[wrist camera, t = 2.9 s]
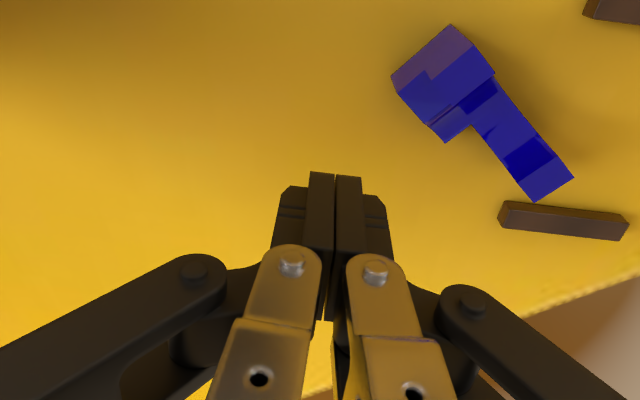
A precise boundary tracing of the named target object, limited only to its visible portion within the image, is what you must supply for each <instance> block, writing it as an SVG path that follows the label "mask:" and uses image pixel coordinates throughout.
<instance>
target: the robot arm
mask: <svg viewBox="0 0 640 400" xmlns="http://www.w3.org/2000/svg"><path fill="white" fill-rule="evenodd" d="M334 181H335V183H334ZM323 307H324V321H331V322H333V336H332V341H331V346H330V353H331V366H332V380H333V394H334V400H505V399H504V398H503V397H502V396H501V395H500V394H499V393H498V392H497V391H496V390H495V389H494V388H492V387H491V386H490V385H489V384H488V383H487V382H486V381H485V380H484V379H483V378H481V377H480V376H479V375H478V372H479V370H480V368H481V369H482V370H483V371H484V372H485V373H487V374H488V375H489V376H490V377H491V378H492V379H493V380H494V381H495V382H497V383H498V384H499V385H500V386H501V387H502V388H503V389H504V390H505V391H506V392H508V393H509V394H510V395H511V396H512V397H513V398H514V399H515V400H627V399H626V398H624V397H623V396H622V395H620V394H619V393H618V392H616V391H615V390H614V389H612V388H611V387H610V386H608V385H607V384H606V383H604V382H603V381H602V380H601V379H599V378H598V377H597V376H595V375H594V374H593V373H591V372H590V371H589V370H588V369H586V368H585V367H584V366H582V365H581V364H579V363H578V362H577V361H575V360H574V359H573V358H572V357H570V356H569V355H568V354H567V353H565V352H564V351H562V350H561V349H560V348H558V347H557V346H556V345H555V344H553V343H552V342H551V341H550V340H548V339H547V338H546V337H544V336H543V335H541V334H540V333H539V332H538V331H536V330H535V329H534V328H532V327H531V326H530V325H529V324H527V323H526V322H524V321H523V320H522V319H521V318H519V317H518V316H517V315H515V314H514V313H513V312H511V311H510V310H509V309H508V308H506V307H505V306H504V305H502V304H501V303H500V302H498V301H497V300H496V299H494V298H493V297H492V296H490V295H489V294H488V293H486V292H484V291H483V290H481V289H478V288H476V287H473V286H469V285H463V284H456V285H451V286H448V287H446V288H445V289H444V290H443V291H442V292H441V295H438V294H436V293H433V292H430V291H427V290H424V289H422V288H419V287H417V286H415V285H413V284H411V283H410V282H408V281H407V280H406V277H405V274H404V271H403V270H402V268H401V267H400V266H399V265H398V264H397V263H396V262H395V261H394V256H393V250H392V244H391V237H390V231H389V225H388V220H387V213H386V207H385V205H384V204H383V203H382V202H381V200H380V199H379V198H378V197H377V196H375V195H366V194H363V193H362V182H361V177H355V176H347V175H339V174H336V177H335V175H334V174H330V173H322V172H313V171H310V177H309V185H308V188H307V187H299V186H291V185H290V186H289V187H288V188H287V189H286V190H285V191H284V192H283V193H282V194H281V198H280V203H279V207H278V212H277V217H276V222H275V227H274V232H273V236H272V241H271V246H270V250H268V251H267V252H266V253H265V254H264V256H263V258H262V261H260V262H259V263H257V264H255V265H252V266H249V267H246V268H240V269H232V270H227V269H226V267H225V265H224V264H223V263H222V262H221V261H220V260H219V259H217V258H215V257H213V256H210V255H206V254H188V255H183V256H180V257H178V258H175V259H173V260H171V261H169V262H167V263H166V264H164V265H162V266H160V267H158V268H156V269H154V270H152V271H150V272H148V273H146V274H144V275H142V276H140V277H138V278H136V279H134V280H132V281H130V282H128V283H126V284H124V285H122V286H120V287H119V288H117V289H115V290H113V291H111V292H109V293H107V294H105V295H103V296H101V297H99V298H97V299H95V300H93V301H91V302H89V303H87V304H85V305H83V306H81V307H79V308H77V309H75V310H73V311H71V312H70V313H68V314H66V315H64V316H62V317H60V318H58V319H56V320H54V321H52V322H50V323H48V324H46V325H44V326H42V327H40V328H38V329H36V330H34V331H32V332H30V333H28V334H26V335H24V336H22V337H21V338H19V339H17V340H15V341H13V342H11V343H9V344H7V345H5V346H3V347H1V348H0V400H185V399H186V398H187V397H189V396H190V395H191V394H192V393H194V392H195V391H196V390H198V389H199V388H200V387H201V386H203V385H204V384H205V383H207V382H208V381H209V380H210V379H212V378H213V380H212V383H211V385H210V388H209V391H208V394H207V397H206V399H205V400H301V395H302V389H303V382H304V376H305V370H306V364H307V357H308V351H309V345H310V341H311V340H312V338H313V336H314V330H315V324H316V320H320V321H321V319H322V313H323Z"/></svg>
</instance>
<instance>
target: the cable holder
mask: <svg viewBox="0 0 640 400" xmlns="http://www.w3.org/2000/svg"><path fill="white" fill-rule="evenodd" d="M494 74H495V72H494V70H493V69H492V68H491V66H490V65H489V64H488V63H487V61H486V60H485V59H484V57H483V56H482V55H481V53H480V52H479V51H478V49H477V48H476V47H475V45H474V44H473V43H472V42H470V41H469V40H468V39H467V38H466V37H465V36H464V35H462V34H461V33H460V32H459V31H458V30H457V29H456V28H454V27H453V26H452V25H451V24H449V25H448V26H447V27H446V28H445V29H444V30H443V31H441V32H440V33H439V34H438V35H437V36H436V37H435V38H433V39H432V40H431V41H430V42H429V43H428V44H427V45H425V46H424V47H423V48H422V49H421V50H420V51H419V52H417V53H416V54H415V55H414V56H413V57H412V58H411V59H410V60H408V61H407V62H406V63H405V64H404V65H403V66H402V67H400V68H399V69H398V70H397V71H396V72H395V73H394V74H392V75H391V79H392V82H393V84H394V87H395V89H396V92H397V94H398V95H399V96H400V97H401V98H402V99H403V101H404V102H405V103H406V104H407V105H408V106H409V107H410V108H411V110H412V111H413V112H414V113H415V114H416V115H417V116H418V117H419V119H420V120H421V121H422V122H423V123H424V124H425V125H427V126H428V127H429V128H431V129H432V130H433V131H434V132H435V133H436V134H437V135H438V136H439V137H440V138H441V139H442V141H443V142H444V143H447V142H448V141H449V140H451V139H452V138H453V137H455V136H456V135H457V134H459V133H460V132H461V131H463V130H464V129H465V128H467V127H468V126H469V125H471V124H472V126H473V127H474V128H475V129H476V131H477V132H478V133H479V134H480V135H481V137H482V138H483V139H484V140H485V142H486V143H487V144H488V145H489V147H490V148H491V149H492V150H493V152H494V153H495V154H496V156H497V157H498V158H499V159H500V161H501V162H502V163H503V165H504V166H505V167H506V169H507V170H508V171H509V173H510V174H511V175H512V177H513V178H514V179H515V181H516V182H517V184H518V185H519V186H520V187H521V188H522V189H523V191H524V192H525V193H526V194H527V195H528V197H529V198H530V199H531V200H532V201H533V203H535V202H537V201H538V200H540V199H541V198H543V197H545V196H546V195H548V194H549V193H551V192H553V191H554V190H556V189H557V188H559V187H560V186H562V185H564V184H565V183H567V182H568V181H570V180H571V179H573V178H574V176H573V175H572V174H571V173H570V171H569V170H568V169H567V167H566V166H565V165H564V163H563V162H562V161H561V159H560V158H559V157H558V155H557V154H556V153H555V152H554V151H553V150H552V149H551V148H550V147H549V146H548V144H547V143H546V142H545V141H544V140H543V139H542V138H541V136H540V135H539V134H538V133H537V132H536V131H535V129H534V128H533V127H532V126H531V125H530V123H529V122H528V121H527V120H526V119H525V117H524V116H523V115H522V114H521V112H520V111H519V110H518V109H517V107H516V106H515V105H514V103H513V102H512V101H511V100H510V98H509V97H508V96H507V94H506V93H505V92H504V90H503V89H502V88H501V86H500V85H499V83H498V82H497V81H496V79H495V78H494V76H493V75H494Z"/></svg>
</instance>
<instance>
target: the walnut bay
mask: <svg viewBox="0 0 640 400" xmlns="http://www.w3.org/2000/svg"><path fill="white" fill-rule="evenodd" d="M582 15H584V16H587V17H589V18H592V19H598V20H605V21H612V22H619V23H626V24H633V25H640V0H588V1H587V4H586V6H585V8H584V11H583V13H582ZM497 219H498V221H499V223H500V225H501V226H502V228H508V229H516V230H525V231H533V232H542V233H550V234H559V235H568V236H576V237H585V238H593V239H602V240H611V241H620V239H621V238H622V236H623V235H624V233H625V231H626V230H627V228H628V226H629V223H628V222H627V221H626V220H625V219H624V218H623V217H622V216H621V215H619V214H611V213H602V212H594V211H586V210H577V209H569V208H561V207H552V206H544V205H536V204H527V203H519V202H510V201H504V203H503V205H502V208H501V210H500V213H499V215H498V217H497Z"/></svg>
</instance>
